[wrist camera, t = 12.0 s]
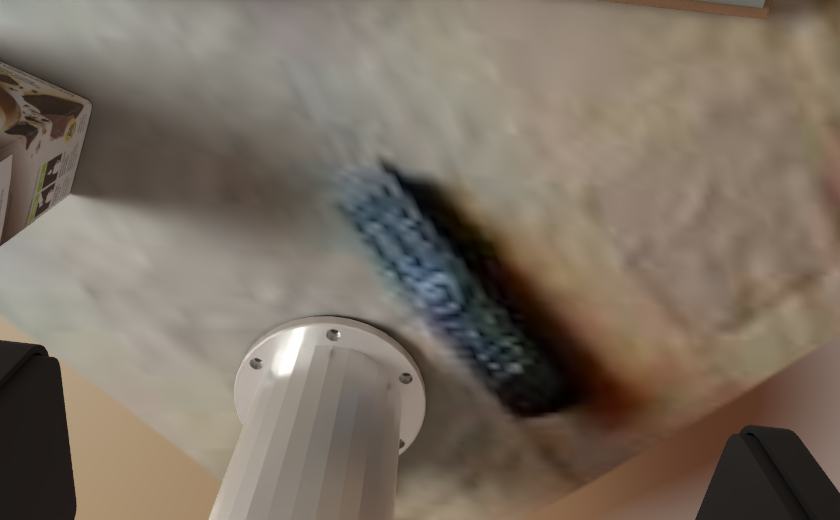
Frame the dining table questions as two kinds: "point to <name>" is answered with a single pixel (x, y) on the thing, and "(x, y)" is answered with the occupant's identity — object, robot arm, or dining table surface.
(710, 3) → the stand
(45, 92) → the coffee box
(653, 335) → the dining table surface
